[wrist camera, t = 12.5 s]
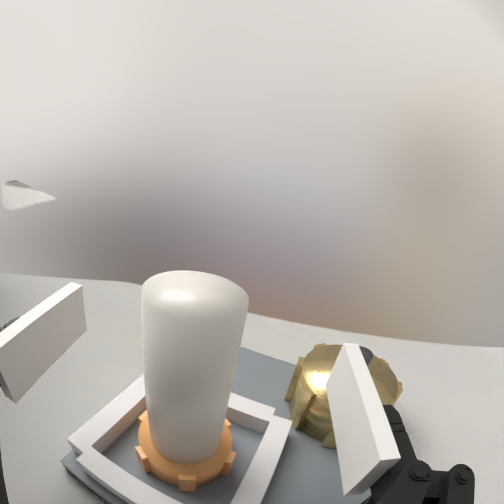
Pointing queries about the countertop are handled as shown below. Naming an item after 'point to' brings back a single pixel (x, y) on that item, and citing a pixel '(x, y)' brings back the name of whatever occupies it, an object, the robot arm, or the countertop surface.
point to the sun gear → (315, 395)
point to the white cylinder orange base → (189, 375)
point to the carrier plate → (243, 443)
